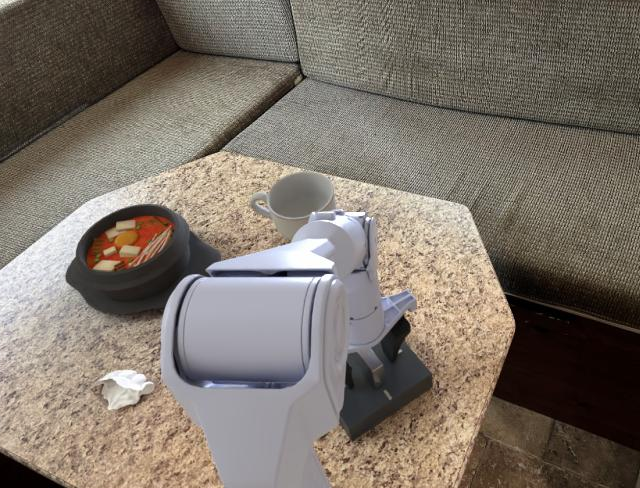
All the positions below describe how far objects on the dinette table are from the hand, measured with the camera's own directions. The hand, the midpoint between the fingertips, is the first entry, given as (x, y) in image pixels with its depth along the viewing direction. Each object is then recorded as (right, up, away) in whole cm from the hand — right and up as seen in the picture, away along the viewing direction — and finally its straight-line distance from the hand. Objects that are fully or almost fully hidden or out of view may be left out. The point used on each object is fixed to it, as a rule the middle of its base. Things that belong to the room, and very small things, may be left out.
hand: (369, 369), depth 75 cm
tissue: (-33, -4, +4) cm, 33 cm away
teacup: (-13, +16, +26) cm, 33 cm away
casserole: (-36, +9, +20) cm, 42 cm away
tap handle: (0, 0, 0) cm, 0 cm away
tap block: (0, -3, +2) cm, 3 cm away
